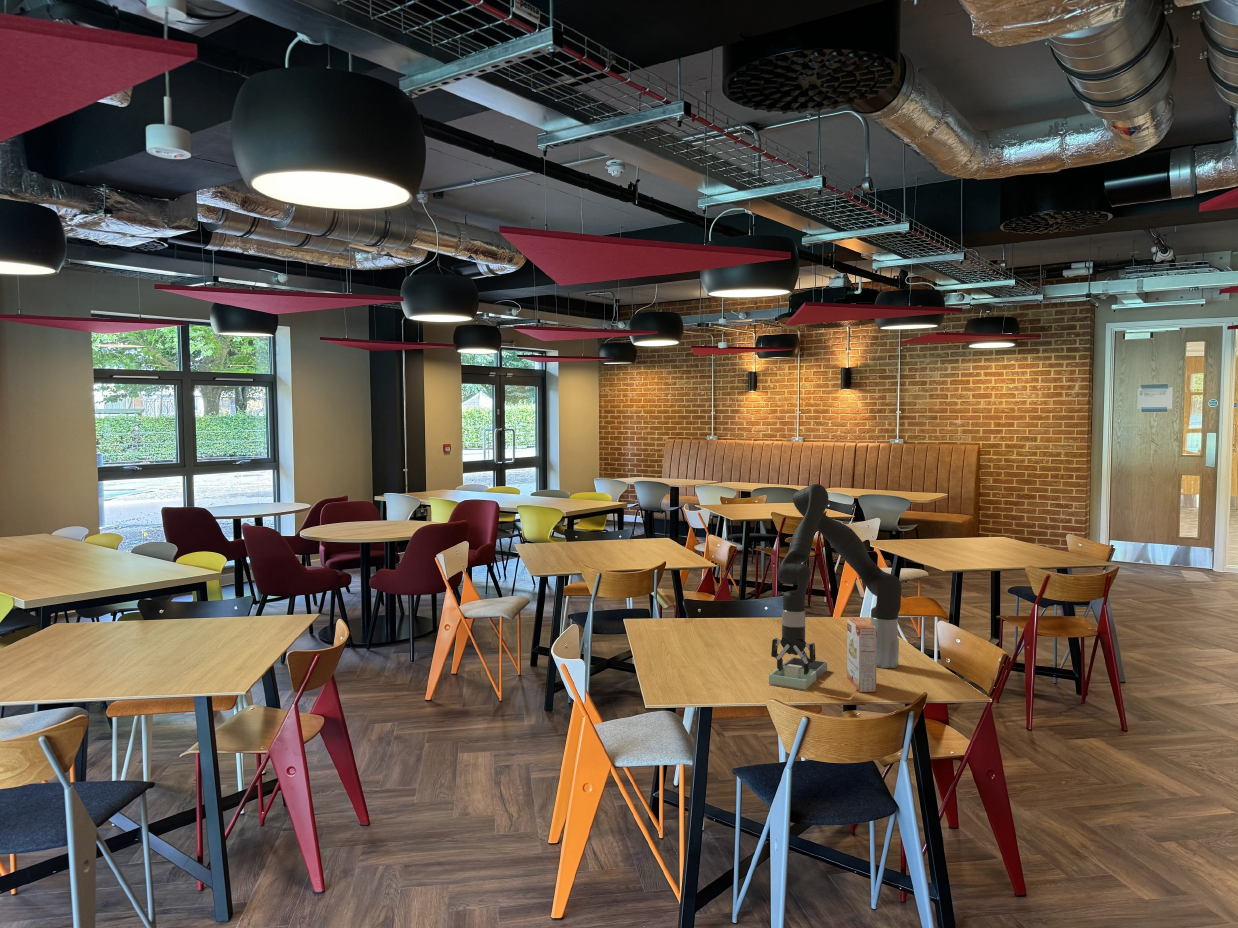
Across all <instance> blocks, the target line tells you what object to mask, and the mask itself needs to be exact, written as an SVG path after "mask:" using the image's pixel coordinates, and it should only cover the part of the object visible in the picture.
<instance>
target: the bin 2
mask: <svg viewBox="0 0 1238 928" xmlns="http://www.w3.org/2000/svg"><path fill="white" fill-rule="evenodd" d="M788 664H792V665H799V666H802V669H804V661H803V660H802V658H800V657H791V658H790V659H788V660H787V661H786V662H784V663H783V666H785V667H786V666H787V665H788ZM810 670H811V671H816V680H818V679H819V678H821V677H822V676H823V675H824V674H825V673H826V672H827V671H828V662H827V661H823V660H815V661H814V662H813V663H810Z"/></svg>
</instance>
